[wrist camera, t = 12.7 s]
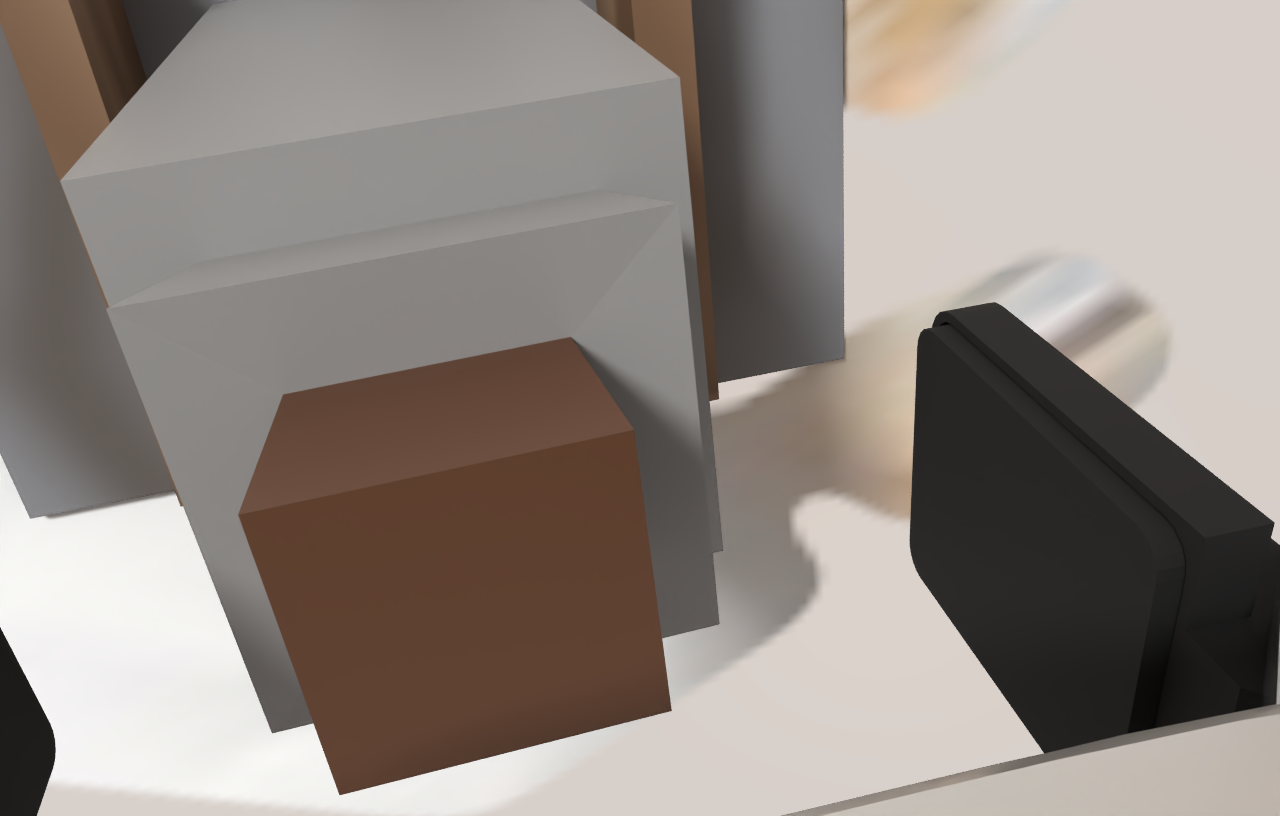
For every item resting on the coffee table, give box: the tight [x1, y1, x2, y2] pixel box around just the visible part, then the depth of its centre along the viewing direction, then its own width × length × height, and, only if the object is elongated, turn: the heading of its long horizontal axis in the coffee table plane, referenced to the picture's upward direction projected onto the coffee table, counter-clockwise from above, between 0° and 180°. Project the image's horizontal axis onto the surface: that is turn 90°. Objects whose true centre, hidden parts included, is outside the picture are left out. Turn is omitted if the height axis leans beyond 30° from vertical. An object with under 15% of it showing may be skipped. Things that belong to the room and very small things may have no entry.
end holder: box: [0, 0, 844, 519], centre depth 23 cm, size 22×16×4 cm
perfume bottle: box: [60, 0, 723, 795], centre depth 17 cm, size 7×7×18 cm
